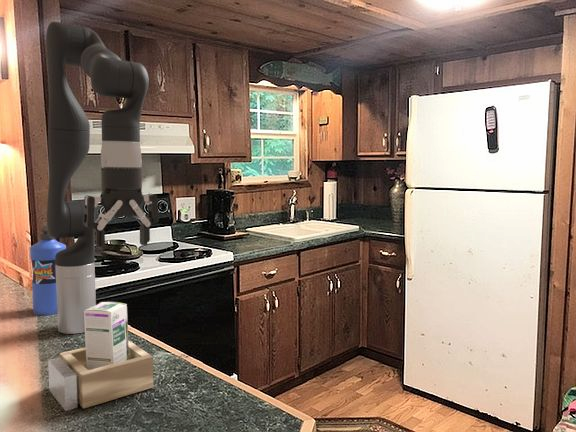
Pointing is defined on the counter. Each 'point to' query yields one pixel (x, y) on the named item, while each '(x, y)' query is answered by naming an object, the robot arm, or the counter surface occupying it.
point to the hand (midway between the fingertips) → (122, 246)
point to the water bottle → (44, 273)
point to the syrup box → (106, 334)
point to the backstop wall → (63, 383)
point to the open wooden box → (110, 376)
